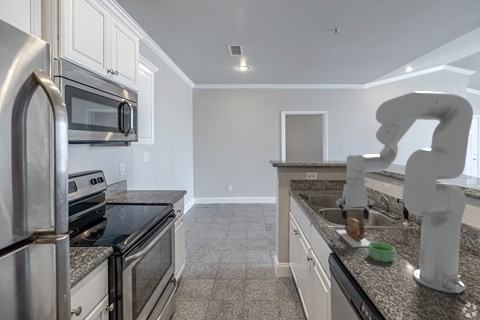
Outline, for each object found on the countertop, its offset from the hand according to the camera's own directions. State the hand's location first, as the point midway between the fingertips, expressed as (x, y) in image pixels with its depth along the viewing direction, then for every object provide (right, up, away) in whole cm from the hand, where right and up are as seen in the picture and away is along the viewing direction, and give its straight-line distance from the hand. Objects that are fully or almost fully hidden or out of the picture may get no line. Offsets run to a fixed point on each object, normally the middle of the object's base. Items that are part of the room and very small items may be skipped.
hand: (355, 218), depth 118 cm
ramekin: (+2, -11, -19) cm, 22 cm away
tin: (0, -9, +1) cm, 9 cm away
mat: (0, -10, +1) cm, 10 cm away
